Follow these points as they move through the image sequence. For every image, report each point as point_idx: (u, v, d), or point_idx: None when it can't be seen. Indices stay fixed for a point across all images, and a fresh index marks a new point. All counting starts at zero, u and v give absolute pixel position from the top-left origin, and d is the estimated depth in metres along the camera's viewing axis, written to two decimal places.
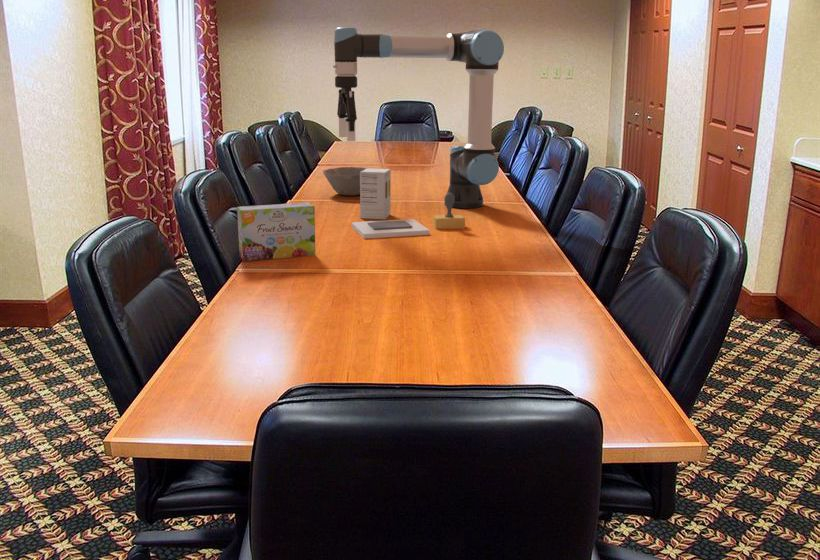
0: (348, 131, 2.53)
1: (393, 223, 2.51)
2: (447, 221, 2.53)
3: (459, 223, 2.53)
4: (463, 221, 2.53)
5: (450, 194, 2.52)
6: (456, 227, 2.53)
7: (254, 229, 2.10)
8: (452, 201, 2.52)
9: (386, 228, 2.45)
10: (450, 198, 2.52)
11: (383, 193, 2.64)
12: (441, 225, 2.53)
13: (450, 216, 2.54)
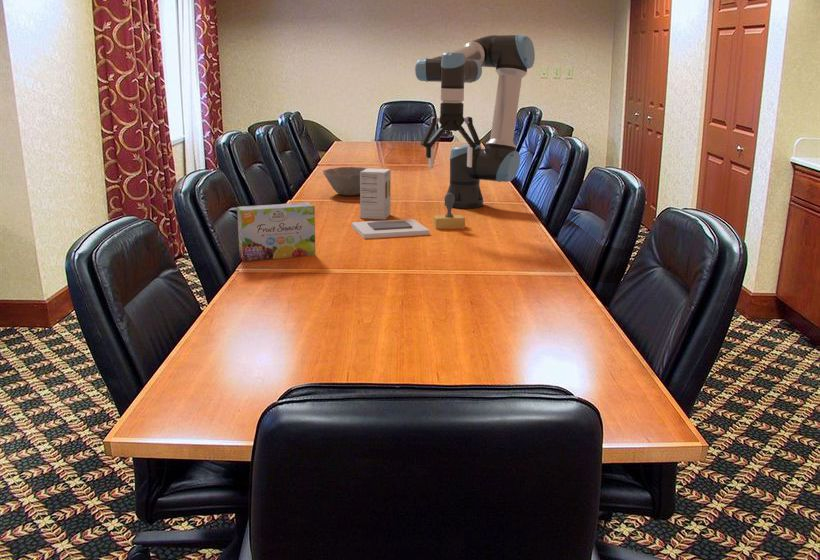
0: (428, 157, 2.48)
1: (393, 223, 2.51)
2: (447, 221, 2.53)
3: (459, 223, 2.53)
4: (463, 221, 2.53)
5: (450, 194, 2.52)
6: (456, 227, 2.53)
7: (254, 229, 2.10)
8: (452, 201, 2.52)
9: (386, 228, 2.45)
10: (450, 198, 2.52)
11: (383, 193, 2.64)
12: (441, 225, 2.53)
13: (450, 216, 2.54)
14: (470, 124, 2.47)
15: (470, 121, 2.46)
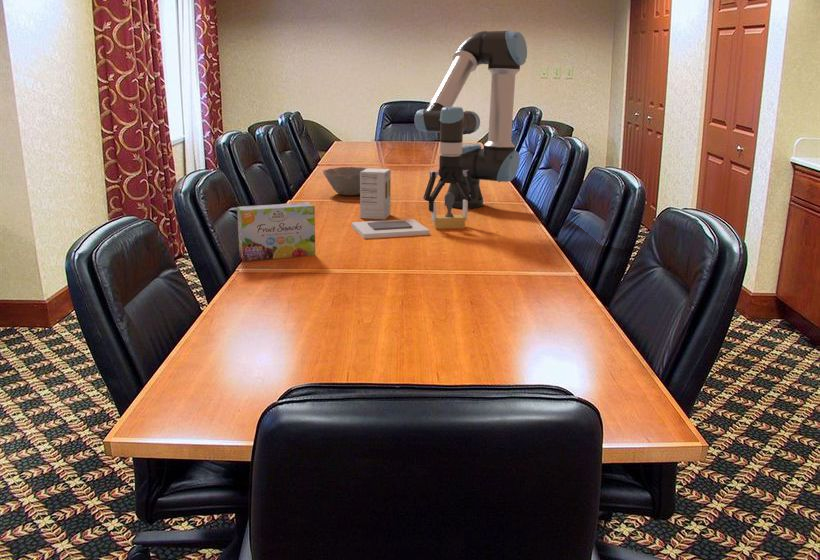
0: None
1: (393, 223, 2.51)
2: (447, 221, 2.52)
3: (460, 223, 2.53)
4: (463, 221, 2.53)
5: (450, 194, 2.52)
6: (456, 227, 2.53)
7: (254, 229, 2.09)
8: (452, 201, 2.52)
9: (386, 228, 2.45)
10: (450, 198, 2.51)
11: (383, 193, 2.64)
12: (441, 224, 2.53)
13: (450, 216, 2.54)
14: (468, 177, 2.52)
15: (468, 174, 2.52)
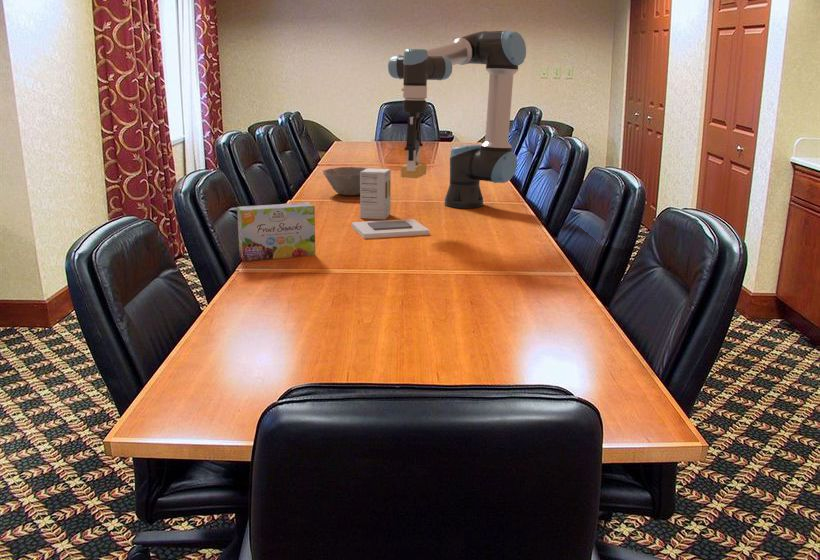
0: (407, 160, 2.40)
1: (393, 223, 2.51)
2: (421, 169, 2.44)
3: (425, 169, 2.49)
4: (425, 166, 2.49)
5: (417, 140, 2.44)
6: (423, 173, 2.48)
7: (254, 229, 2.10)
8: None
9: (386, 228, 2.45)
10: None
11: (383, 193, 2.64)
12: (419, 173, 2.43)
13: (417, 163, 2.46)
14: None
15: None
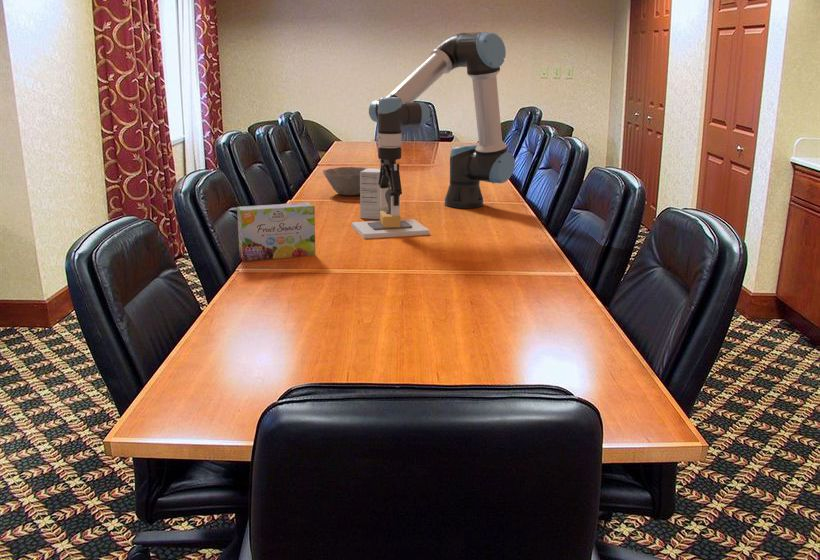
0: (392, 205, 2.41)
1: None
2: None
3: None
4: None
5: None
6: None
7: (254, 229, 2.10)
8: None
9: (386, 228, 2.45)
10: None
11: None
12: None
13: None
14: None
15: None
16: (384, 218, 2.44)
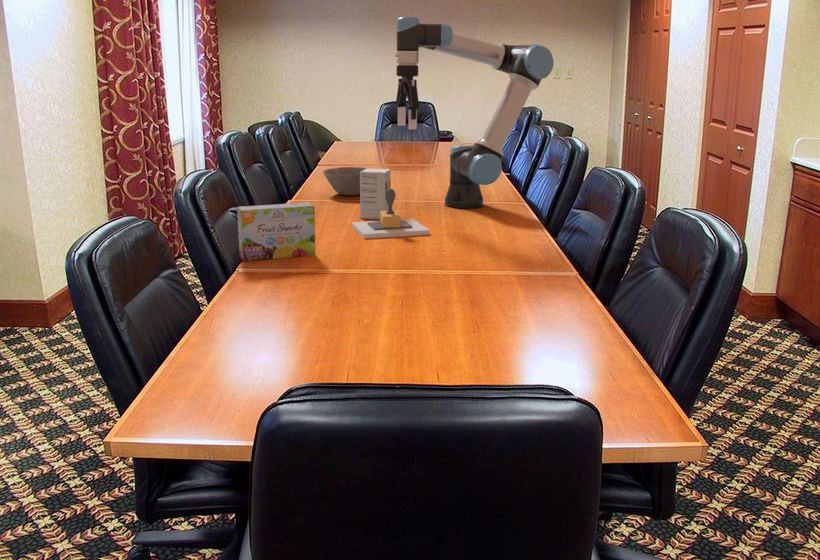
0: (410, 119, 2.56)
1: None
2: None
3: None
4: None
5: None
6: None
7: (254, 229, 2.10)
8: None
9: (386, 228, 2.45)
10: None
11: (383, 193, 2.64)
12: None
13: (393, 212, 2.49)
14: None
15: None
16: (384, 218, 2.44)
